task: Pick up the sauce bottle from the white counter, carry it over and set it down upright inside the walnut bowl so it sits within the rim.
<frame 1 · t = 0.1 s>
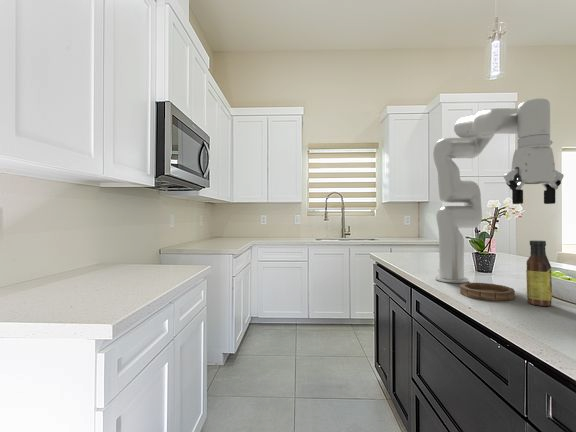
hand: (533, 203, 94), 31 cm above the worktop, tool pointing down, fingers open, 9 cm apart
walnut bowl: (486, 294, 114), on the worktop
sauce bottle: (538, 304, 102), on the worktop
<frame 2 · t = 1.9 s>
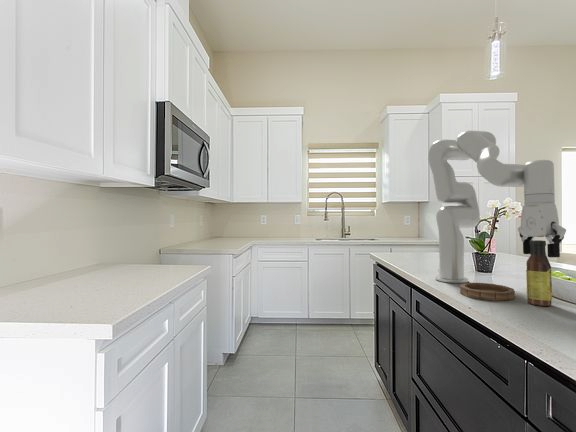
hand: (540, 255, 101), 15 cm above the worktop, tool pointing down, fingers open, 9 cm apart
nothing on the worktop moved.
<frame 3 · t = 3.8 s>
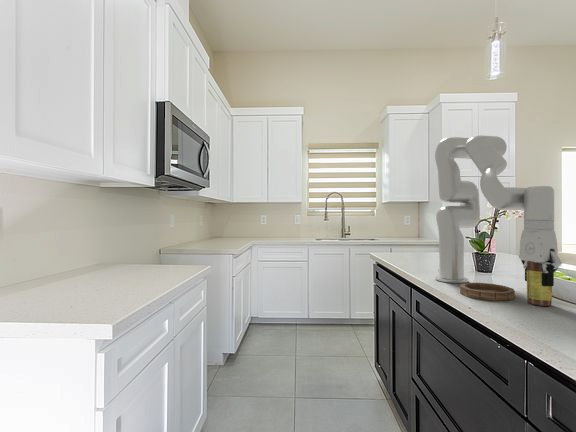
hand: (538, 283, 102), 7 cm above the worktop, tool pointing down, fingers closed on sauce bottle, 6 cm apart
sauce bottle: (538, 304, 102), on the worktop, touching gripper
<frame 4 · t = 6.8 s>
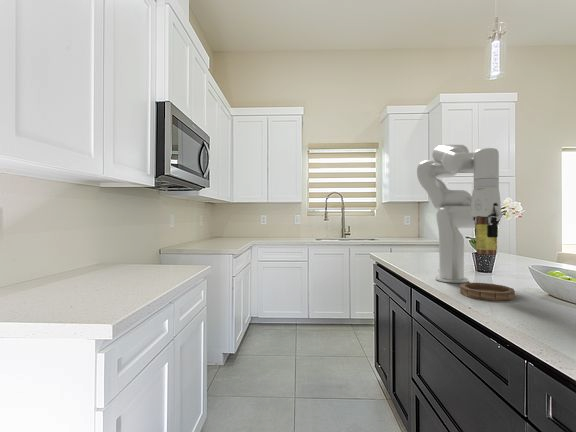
hand: (486, 235, 114), 21 cm above the worktop, tool pointing down, fingers closed on sauce bottle, 6 cm apart
sauce bottle: (486, 255, 113), point 14 cm above the worktop, touching gripper
when the fingers open (8 cm above the worktop, at t = 9.8 s): sauce bottle stays where it is, resting on walnut bowl.
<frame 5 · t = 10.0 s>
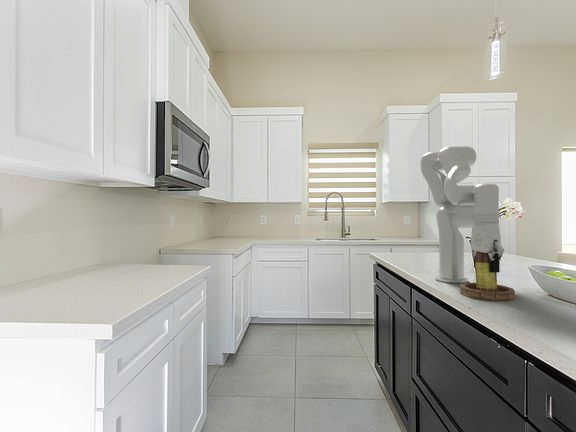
hand: (486, 269, 114), 9 cm above the worktop, tool pointing down, fingers open, 8 cm apart
sauce bottle: (486, 293, 113), point 1 cm above the worktop, touching walnut bowl
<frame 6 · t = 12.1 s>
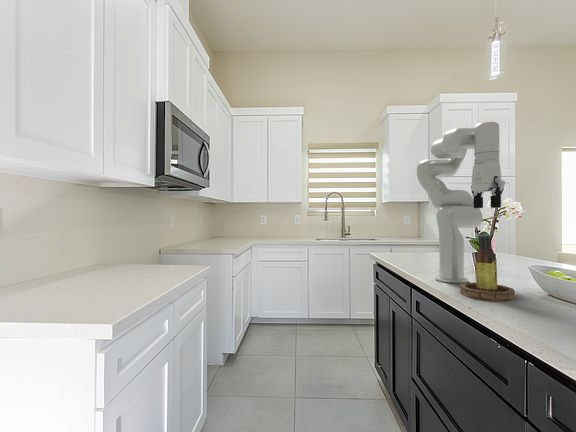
hand: (486, 207, 114), 30 cm above the worktop, tool pointing down, fingers open, 9 cm apart
nothing on the worktop moved.
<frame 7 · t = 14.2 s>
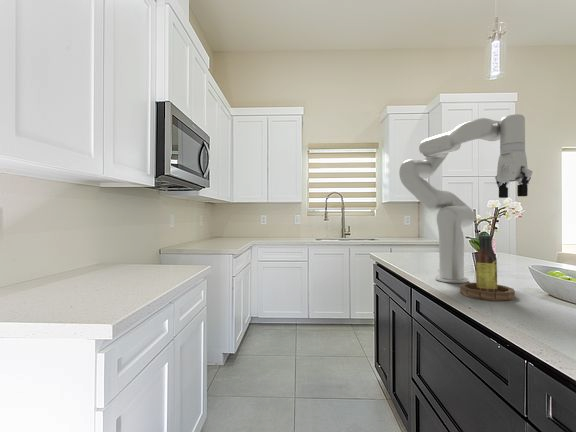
hand: (512, 197, 119), 34 cm above the worktop, tool pointing down, fingers open, 9 cm apart
nothing on the worktop moved.
at the end: sauce bottle 0.1 cm from the walnut bowl (horizontally); sauce bottle tilted 0°; sauce bottle point 0.6 cm above the worktop; the gripper is holding nothing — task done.
